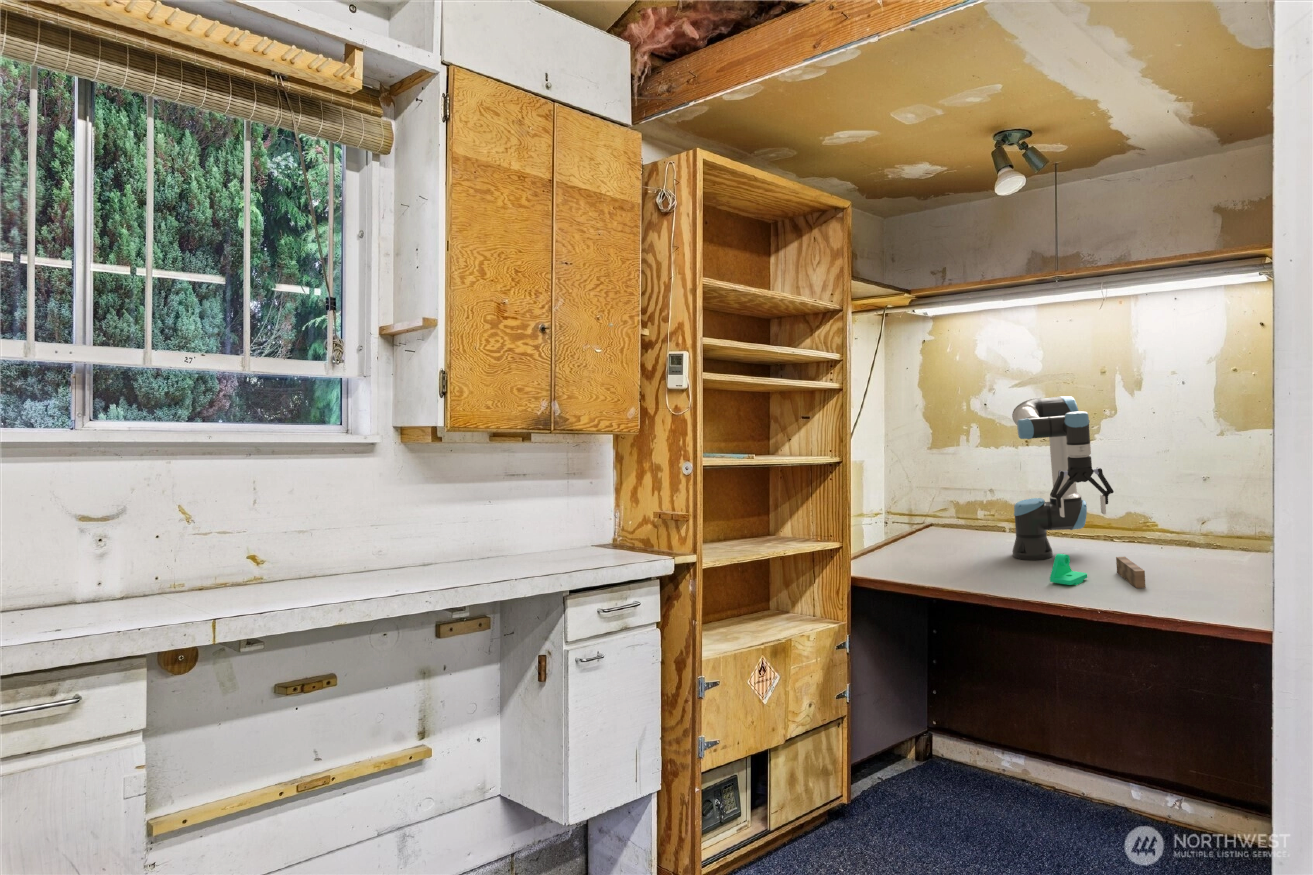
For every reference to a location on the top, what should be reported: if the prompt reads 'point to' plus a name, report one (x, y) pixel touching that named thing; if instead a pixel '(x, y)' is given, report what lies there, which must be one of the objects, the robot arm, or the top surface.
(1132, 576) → the block
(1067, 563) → the camera mount
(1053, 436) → the robot arm
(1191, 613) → the top surface
